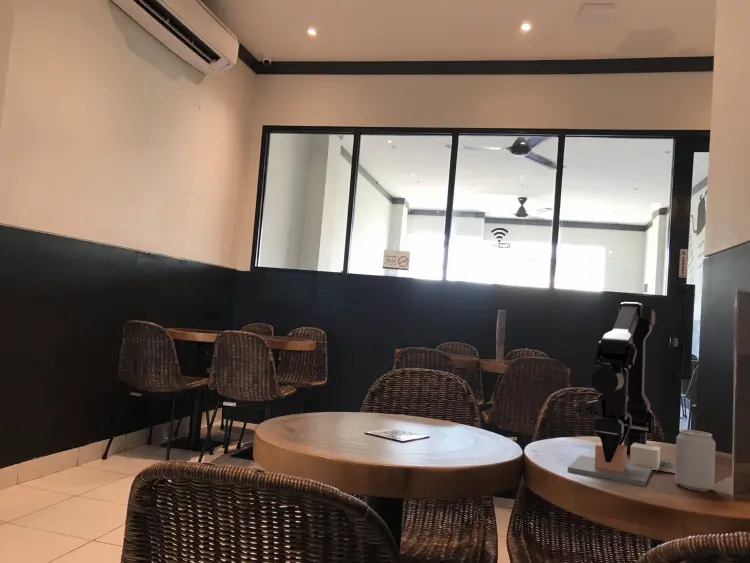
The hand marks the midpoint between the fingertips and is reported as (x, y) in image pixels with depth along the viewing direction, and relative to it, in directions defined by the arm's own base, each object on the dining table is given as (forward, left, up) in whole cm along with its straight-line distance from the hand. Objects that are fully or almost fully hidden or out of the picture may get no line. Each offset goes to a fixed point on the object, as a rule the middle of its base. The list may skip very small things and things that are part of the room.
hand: (611, 458), depth 135 cm
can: (0, +17, -3) cm, 17 cm away
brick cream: (-13, +6, -3) cm, 15 cm away
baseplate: (0, 0, -3) cm, 3 cm away
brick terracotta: (0, 0, -2) cm, 2 cm away
